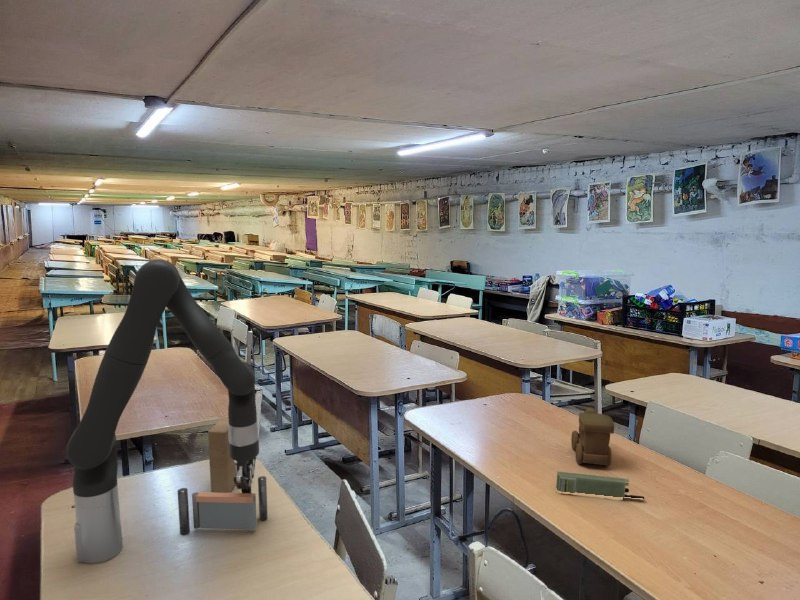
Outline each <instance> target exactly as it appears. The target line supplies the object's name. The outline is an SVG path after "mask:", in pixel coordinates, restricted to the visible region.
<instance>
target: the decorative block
mask: <svg viewBox="0 0 800 600" xmlns="http://www.w3.org/2000/svg"><path fill="white" fill-rule="evenodd" d="M228 429H229V418H228V416H222V417H221V418H220V419H219V420H218V421H217V422H216V423H215V424H214V425H213V426H212V427H211V428H210V429H209V430H208V431H207V435H208V436H207V437H208V438H207V439H208V452H209V453H208V456H209V457H208V458H209V459H208V460H209V474H210V475H209V476H210V492H214V493H231V491H232V490H233V488H234V487H235V486H236V484H235V483H234V477H237V471H236V464H237V462H236V461H235V460H233V459H232V458H231V457H230V454H229V436H228Z"/></svg>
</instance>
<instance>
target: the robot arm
mask: <svg viewBox="0 0 800 600" xmlns="http://www.w3.org/2000/svg"><path fill="white" fill-rule="evenodd" d="M135 274H136V275H135V278H134V282H133V286H132V290H131V293H130V294H131V295H130V296H129V300H128V302H127V303H128V304H127V307H126V310H125V312H124V315H123V317H122V318H121V321H120V322H119V323H118V325H117V328H116V329H115V331H114V333H113V335H112V337H111V338H110V341H109V343H108V345H107V347H106V350H105V352H104V354H103V357H102V359H101V360H100V361H101V362H100V364H99V368H98V370H97V373H96V376H95V378H94V381H93V382H94V383H93V386H92V389H91V392H90V397H89V400H88V403H87V406H86V408H85V412H84V413H83V416H82V418H81V420H80V422H79V423H78V425H77V427H76V428H75V430H74V431H73V433H72V434H71V436H70V438H69V440H68V442H67V444H66V452H65V453H66V457H67V458H66V459H67V460H68V462H69V463H70V464H71V465H72V466H73V468H74V469H73V479H72V491H73V500H74V501H73V502H74V510H75V520H76V521H75V524H74V527H73V529H74V530H73V531H74V539H75V548H76V549H75V550H76V561H77V564H80V563H86V564H89V565H90V564H92V565H93V564H99V563H100V564H101V563H104V562H106V561H108V560H111V559H113V558H114V557H116V556H117V555H118V554H119V553H121V551H122V550H123V546H124V545H123V534H122V532H123V531H122V521H121V519H122V518H121V510H120V499H119V497H120V496H119V487H118V485H119V484H118V483H119V482H118V469H119V468H118V466H119V464H118V449H117V447H118V446H117V436H116V430H117V427H118V425H119V421H120V419H121V416H122V414H123V412H124V411H125V408H126V407H127V405H128V403H129V402H130V400H131V398H132V396H133V394H134V392H135V390H136V388H137V387H138V384H139V382H140V380H141V378H142V376H143V375H144V371H145V369H146V367H147V363H148V362H149V358H150V356H151V352H152V349H153V345H154V341H155V337H156V333H157V328H158V325H159V323H160V321H161V318H162V316H163V313H165V312H164V311H165V310H166V309H167V310H169V311H170V313H171V314H172V315H173V316H174V318H175V319H176V321H177V322H178V324H180V326H181V328H182V329H183V331H184V333H185V334H186V336H187V337H188V339H189V340H190V342H191V343H192V345H193V346H194V347H195V348H196V350H197V351H198V352H199V354H201V356H202V357H203V358H204V359H205V360H206V361H207V362H208V364H210V366H211V367H212V368H213V370H214V371H215V373H216V375H217V377H218V378H219V379H220V381H221V382H222V384H223V385H224V386H225V388H226V389H227V392H228V393H227V394H228V408H227V411H228V412H227V417H228V418H229V429H228V436H229V454H230V457H231V458H232V459H233V460H234V461H235V462H236V463H237V464H236V471H237V477H234V483H235V486H236V488H237V490H241V493H252V484H253V479H254V478H255V469H256V460H257V456H258V455H260V454H259V453H260V440H259V426H258V417H257V414H258V413H257V405H256V398H255V396H256V395H255V385H256V374H255V373H256V372H255V370H254V368H253V366H252V365H251V364H250V363H249V362H246V361H242V360H241V359H240V357H239V356H238V354H237V352H236V350H235V349H234V346H233V345H232V342H230V341H229V339H228V338H227V336H225V335H224V333H223V332H222V331H221V330H220V329H219V327H218V326H217V325H216V324H215V322H213V320H212V319H211V318H210V317H209V315H207V314H206V312H205V311H204V310H203V308H202V307H201V306H200V305H199V303H198V302H197V301H196V299H195V298H194V296H193V295H192V294H191V292H190V291H189V289H188V287H187V286H186V283H185V282H184V280H183V278H182V276H181V275H180V272H179V270H178V269H177V267H176V266H175V265H174V264H173V263H172V262H170V261H168V260H165V259H160V258H158V259H157V258H156V259H151V260H149V261H147V262H145V263H144V264H143V265H141V266H140V268H138V270H137V271H136V273H135Z"/></svg>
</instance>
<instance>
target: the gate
mask: <svg viewBox="0 0 800 600" xmlns="http://www.w3.org/2000/svg"><path fill="white" fill-rule="evenodd" d="M256 495H257V494H256V493H254V492H253V493H252V492H251V493H242V492H229V493H214V492H211V491H210V492H209V491H204V492H203V491H199V492H193V493H192V494H191V499H192V504H191V505H192V519H193V521H192V522H193V529H196V530H197V529H207V530H208V529H209V530H211V529H212V530H213V529H214V530H243V531H244V530H247V531H254V532H255V530H256V528H257V526H258V525H257V499H256Z"/></svg>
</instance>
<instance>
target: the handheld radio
mask: <svg viewBox="0 0 800 600" xmlns="http://www.w3.org/2000/svg"><path fill="white" fill-rule="evenodd" d="M629 482H630V479H629V478H622V477H614V476H613V477H612V476H602V475H595V474H594V475H593V474H585V473H576V472H568V471H559V470H558V471H557V472H556V483H555V484H556V485H555V489H556V488H557V490H558V491H561V492H570V493H575V492H577V493H585V494H595V495H604V496H613V497H623V498H624V497H631V498H643V499H644V500H645V496H643V495H641V496H640V495H633V494H626V493H629V492H630V489H629V488H626V487H629V486H630V483H629Z"/></svg>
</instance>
